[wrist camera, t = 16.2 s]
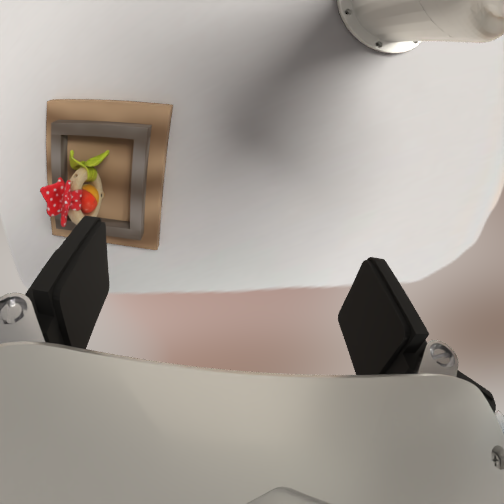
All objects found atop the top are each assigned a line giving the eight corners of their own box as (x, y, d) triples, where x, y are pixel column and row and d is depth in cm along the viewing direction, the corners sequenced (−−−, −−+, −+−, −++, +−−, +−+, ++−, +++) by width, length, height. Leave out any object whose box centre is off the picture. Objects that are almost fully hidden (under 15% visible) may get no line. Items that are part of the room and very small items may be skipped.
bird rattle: (126, 183, 40) (107, 131, 33) (108, 252, 34) (78, 200, 27) (87, 188, 40) (64, 139, 33) (65, 254, 34) (30, 206, 27)
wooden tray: (52, 99, 32) (39, 103, 29) (173, 104, 35) (167, 108, 32) (56, 229, 43) (46, 241, 40) (158, 244, 45) (154, 258, 42)
